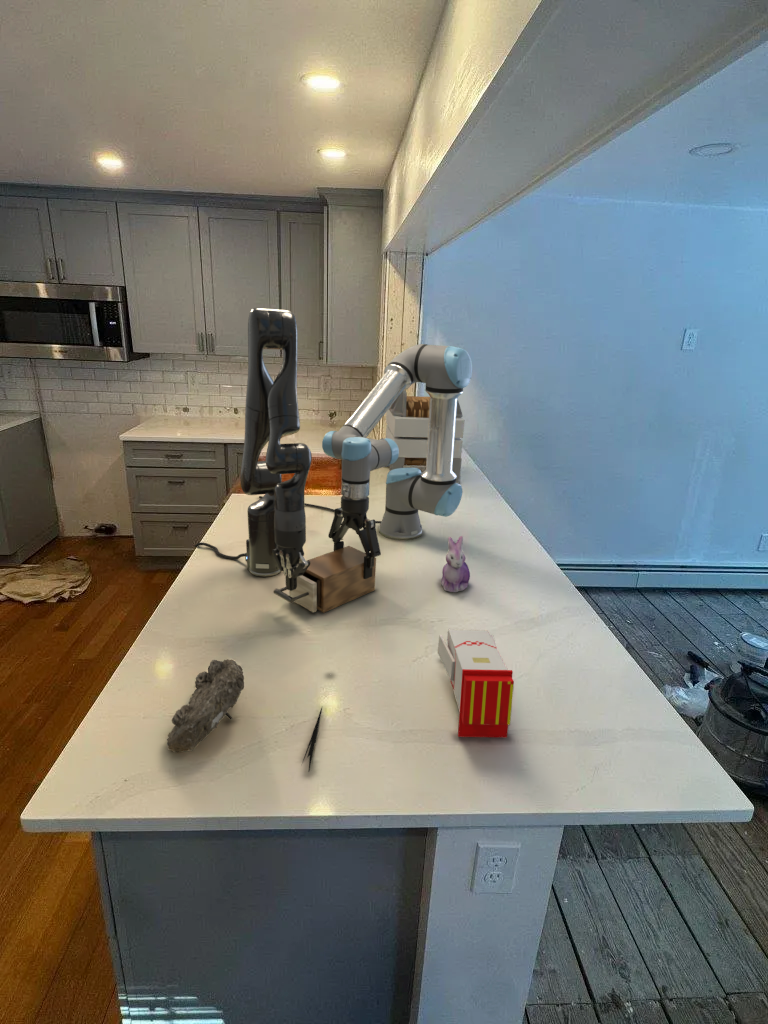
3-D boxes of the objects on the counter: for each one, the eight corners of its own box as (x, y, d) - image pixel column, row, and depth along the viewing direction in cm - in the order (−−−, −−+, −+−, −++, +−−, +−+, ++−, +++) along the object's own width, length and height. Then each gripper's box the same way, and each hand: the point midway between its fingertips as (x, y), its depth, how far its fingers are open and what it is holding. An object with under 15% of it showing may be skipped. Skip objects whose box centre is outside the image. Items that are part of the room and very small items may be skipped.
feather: (331, 679, 122) (336, 673, 122) (307, 777, 96) (313, 769, 95) (324, 675, 122) (329, 669, 121) (298, 772, 95) (304, 764, 95)
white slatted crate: (382, 463, 289) (386, 382, 275) (445, 464, 293) (451, 384, 279) (390, 482, 257) (394, 392, 243) (460, 483, 261) (468, 394, 247)
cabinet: (323, 613, 146) (323, 578, 143) (296, 597, 154) (296, 563, 150) (374, 590, 159) (376, 557, 156) (348, 576, 166) (348, 545, 163)
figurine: (451, 596, 157) (455, 546, 152) (431, 580, 166) (435, 533, 161) (478, 590, 162) (484, 541, 157) (458, 575, 170) (462, 529, 165)
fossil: (192, 660, 117) (244, 628, 112) (224, 691, 120) (276, 661, 115) (142, 746, 98) (202, 712, 93) (182, 779, 101) (242, 748, 96)
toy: (488, 613, 130) (523, 677, 101) (484, 667, 133) (517, 744, 104) (435, 612, 130) (455, 676, 101) (432, 666, 133) (451, 743, 103)
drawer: (294, 620, 140) (293, 592, 138) (270, 606, 147) (269, 578, 144) (362, 591, 156) (363, 564, 154) (338, 578, 163) (339, 553, 160)
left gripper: (261, 521, 139) (263, 584, 145) (294, 536, 131) (295, 603, 136) (285, 514, 144) (287, 576, 150) (319, 528, 136) (319, 593, 141)
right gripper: (315, 488, 156) (315, 560, 164) (376, 510, 141) (373, 589, 149) (336, 483, 161) (335, 553, 169) (396, 504, 146) (392, 580, 154)
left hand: (291, 589), depth 143 cm, fingers closed
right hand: (352, 570), depth 159 cm, fingers closed on cabinet, 11 cm apart
